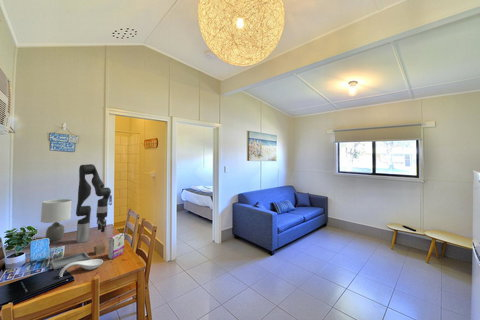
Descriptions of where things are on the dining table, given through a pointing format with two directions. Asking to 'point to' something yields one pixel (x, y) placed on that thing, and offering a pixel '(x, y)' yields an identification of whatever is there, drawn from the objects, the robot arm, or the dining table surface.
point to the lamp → (55, 216)
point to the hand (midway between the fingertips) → (100, 230)
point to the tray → (69, 260)
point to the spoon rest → (84, 265)
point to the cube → (99, 249)
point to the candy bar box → (116, 245)
